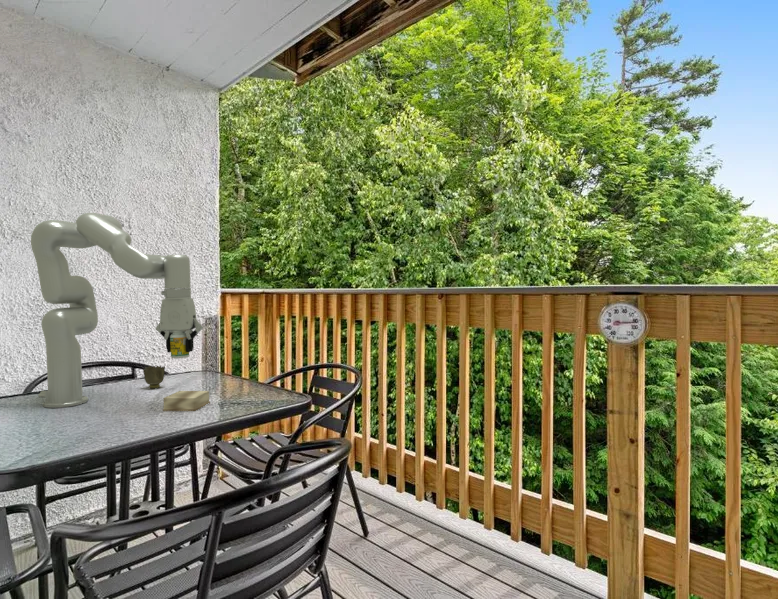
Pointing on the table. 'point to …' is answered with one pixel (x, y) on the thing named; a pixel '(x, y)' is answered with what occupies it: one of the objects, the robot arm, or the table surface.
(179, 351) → the supplement bottle
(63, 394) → the robot arm
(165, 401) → the base block
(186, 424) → the table surface
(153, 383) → the cup
